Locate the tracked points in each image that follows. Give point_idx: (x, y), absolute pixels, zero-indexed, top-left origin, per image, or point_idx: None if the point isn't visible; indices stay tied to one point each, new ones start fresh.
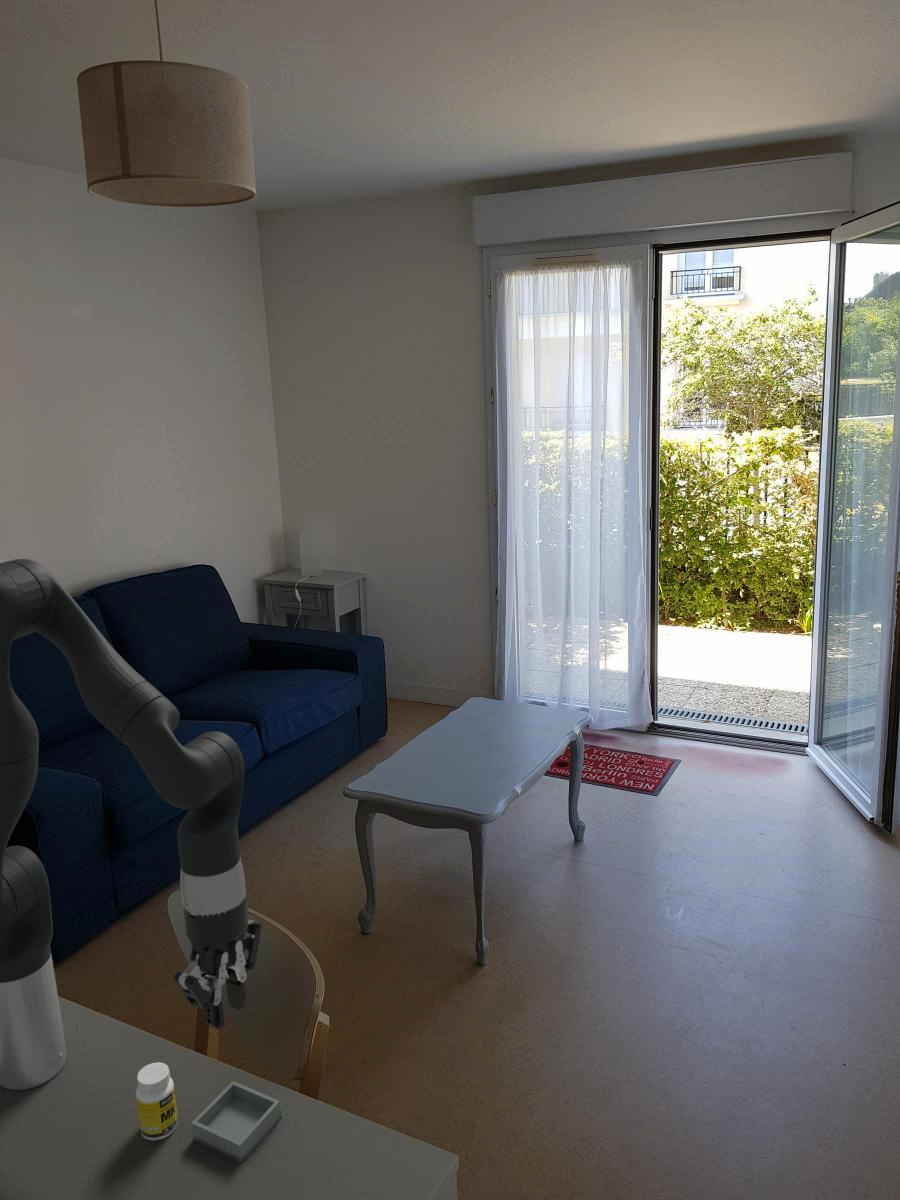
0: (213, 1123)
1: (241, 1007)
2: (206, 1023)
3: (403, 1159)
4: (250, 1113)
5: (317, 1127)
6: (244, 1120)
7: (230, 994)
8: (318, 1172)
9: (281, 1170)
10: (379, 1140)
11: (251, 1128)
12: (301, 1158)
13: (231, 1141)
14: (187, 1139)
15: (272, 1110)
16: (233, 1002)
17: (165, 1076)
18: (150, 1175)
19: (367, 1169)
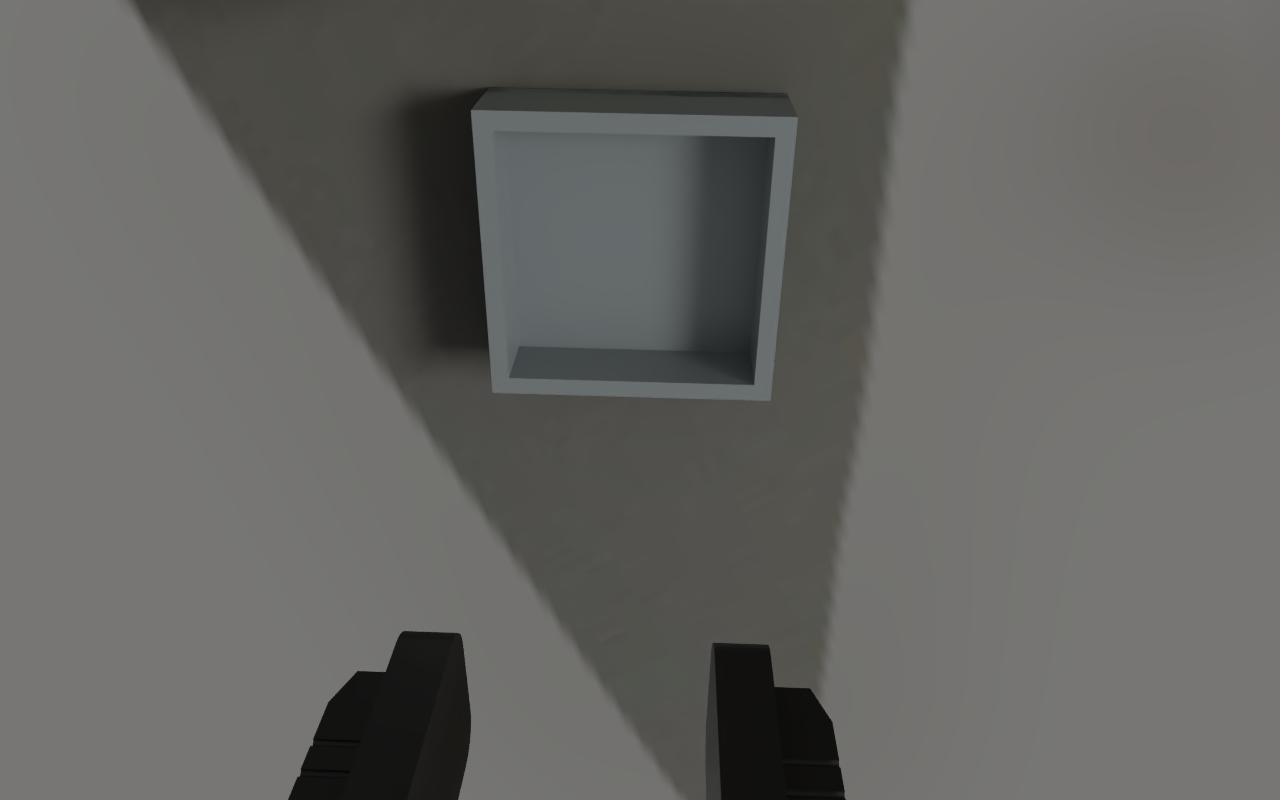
0: (589, 134)
1: (706, 777)
2: (345, 688)
3: None
4: (713, 251)
5: (774, 495)
6: (668, 251)
7: (715, 785)
8: (608, 584)
9: (555, 487)
10: (802, 674)
11: (586, 383)
12: (629, 516)
13: (489, 351)
14: (477, 58)
15: (714, 395)
16: (711, 730)
17: None
18: (245, 45)
19: (687, 688)
